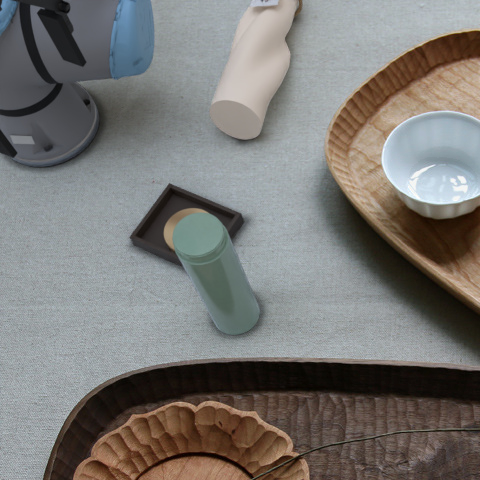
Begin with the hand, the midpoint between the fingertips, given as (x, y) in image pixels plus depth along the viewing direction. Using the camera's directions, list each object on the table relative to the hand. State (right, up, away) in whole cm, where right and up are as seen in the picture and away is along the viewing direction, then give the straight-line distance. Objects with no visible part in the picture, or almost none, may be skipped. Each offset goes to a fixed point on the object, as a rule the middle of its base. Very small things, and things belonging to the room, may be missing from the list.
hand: (41, 105), depth 89 cm
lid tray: (+10, -9, +26) cm, 29 cm away
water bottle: (+16, +8, +27) cm, 32 cm away
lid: (+10, -9, +23) cm, 27 cm away
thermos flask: (+17, -21, +20) cm, 34 cm away
